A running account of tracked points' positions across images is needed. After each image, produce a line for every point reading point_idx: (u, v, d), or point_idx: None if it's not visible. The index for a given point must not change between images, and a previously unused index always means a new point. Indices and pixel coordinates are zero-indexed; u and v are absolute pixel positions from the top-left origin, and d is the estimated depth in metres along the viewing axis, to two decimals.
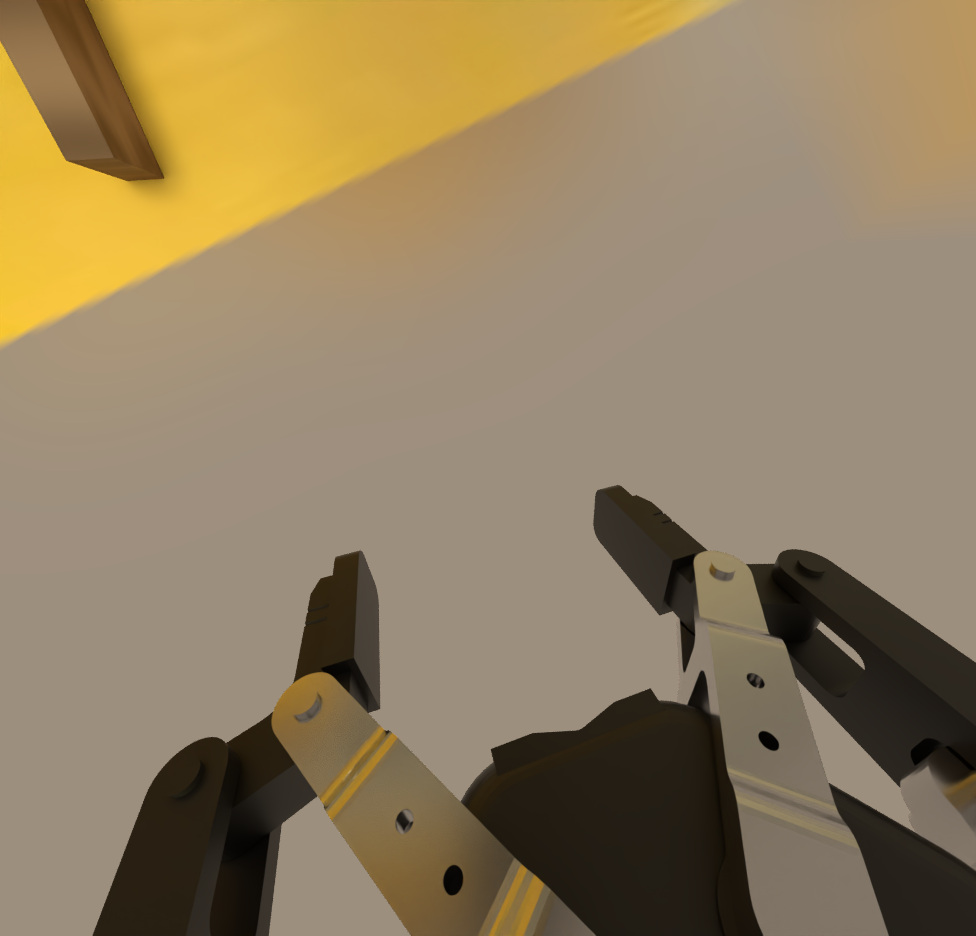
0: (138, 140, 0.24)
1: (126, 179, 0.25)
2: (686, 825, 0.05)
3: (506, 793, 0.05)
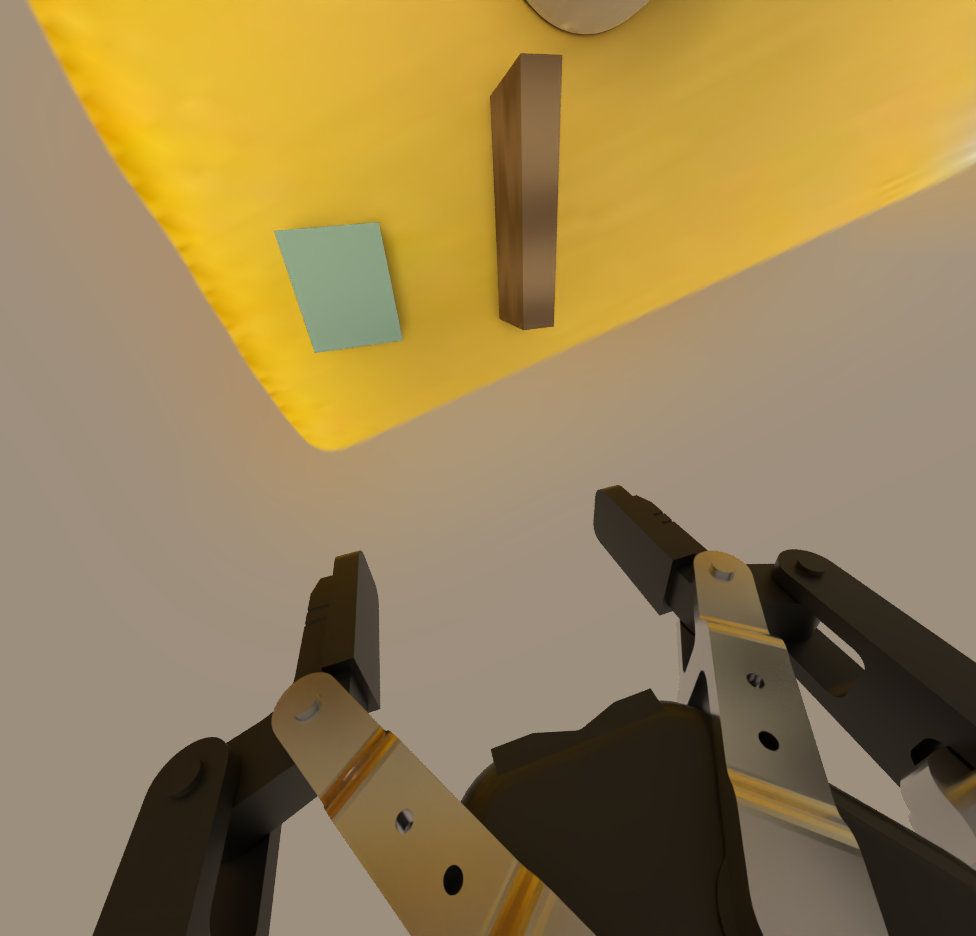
0: None
1: None
2: (686, 825, 0.05)
3: (506, 793, 0.05)
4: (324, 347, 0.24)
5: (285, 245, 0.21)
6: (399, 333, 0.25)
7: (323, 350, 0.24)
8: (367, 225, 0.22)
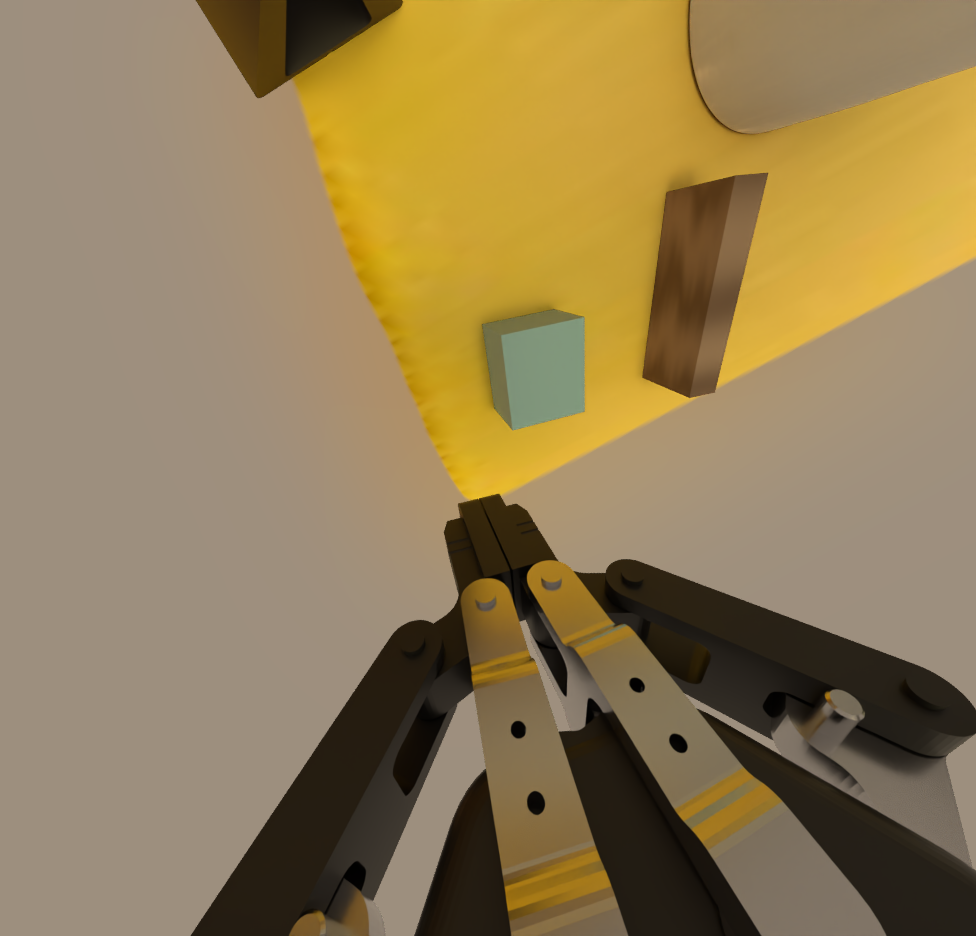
0: None
1: None
2: (677, 908, 0.04)
3: None
4: (520, 424, 0.27)
5: (507, 345, 0.24)
6: (582, 406, 0.28)
7: (519, 427, 0.27)
8: (574, 321, 0.24)
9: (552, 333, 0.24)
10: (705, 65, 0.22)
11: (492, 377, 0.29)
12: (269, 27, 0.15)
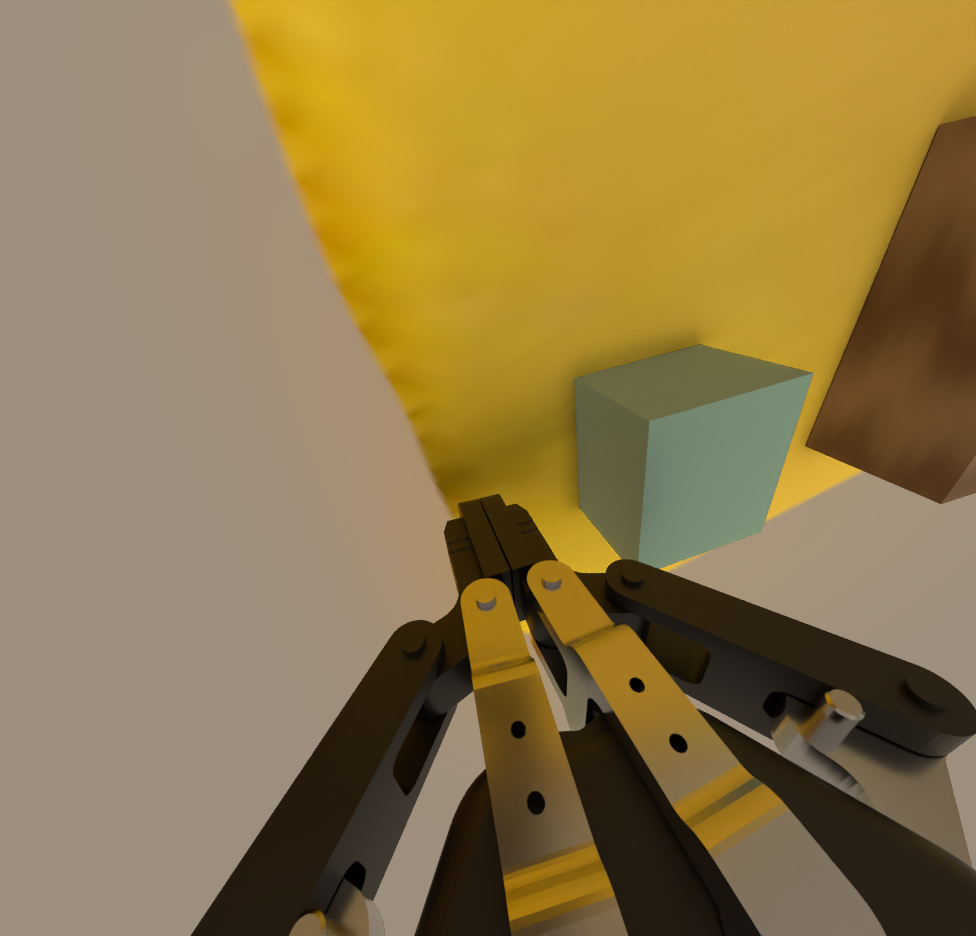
0: None
1: None
2: (677, 907, 0.04)
3: None
4: (652, 566, 0.14)
5: (658, 440, 0.11)
6: (761, 524, 0.15)
7: None
8: (794, 381, 0.12)
9: (747, 408, 0.12)
10: None
11: (586, 467, 0.16)
12: None
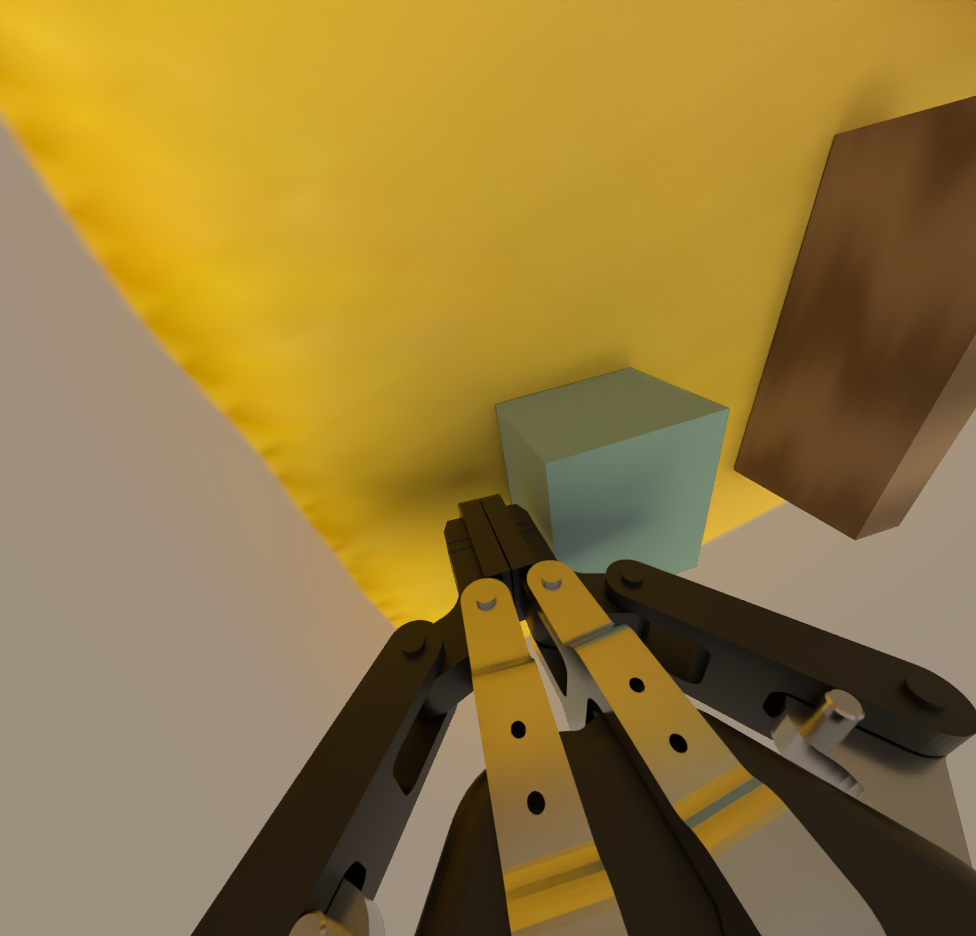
0: None
1: None
2: (677, 908, 0.04)
3: None
4: None
5: (559, 482, 0.10)
6: (695, 559, 0.14)
7: None
8: (708, 417, 0.11)
9: (658, 446, 0.11)
10: None
11: (516, 497, 0.15)
12: None
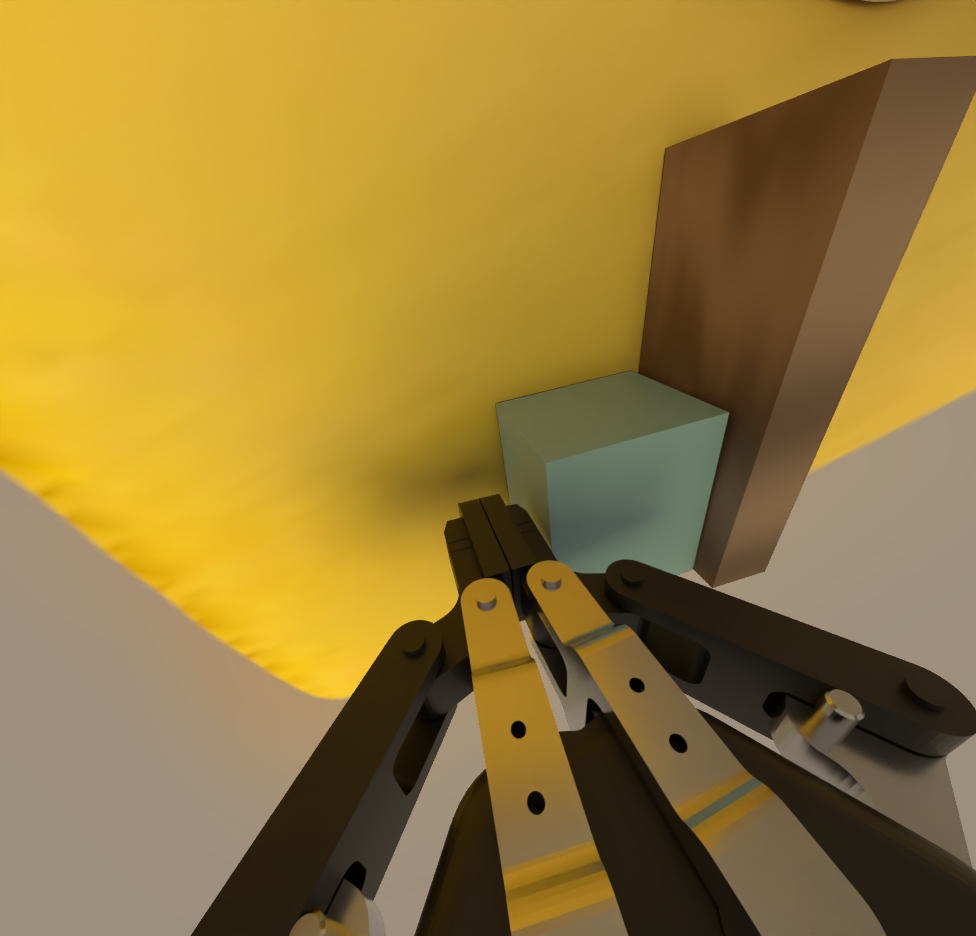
0: None
1: None
2: (677, 908, 0.04)
3: None
4: None
5: (559, 482, 0.10)
6: (691, 562, 0.14)
7: None
8: (708, 421, 0.11)
9: (657, 449, 0.11)
10: None
11: (514, 497, 0.15)
12: None
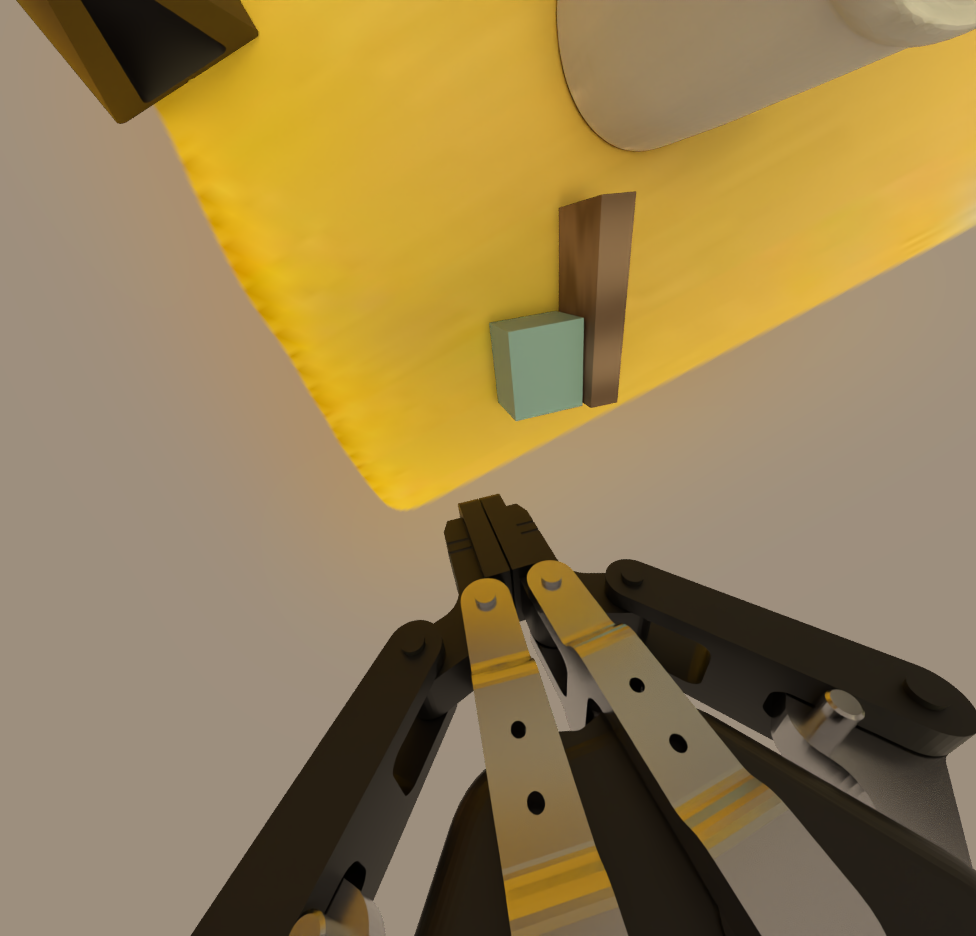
0: None
1: None
2: (677, 907, 0.04)
3: None
4: (523, 416, 0.29)
5: (513, 342, 0.26)
6: (581, 400, 0.30)
7: (522, 418, 0.29)
8: (575, 321, 0.27)
9: (554, 331, 0.27)
10: (577, 87, 0.23)
11: (497, 372, 0.31)
12: (95, 61, 0.15)
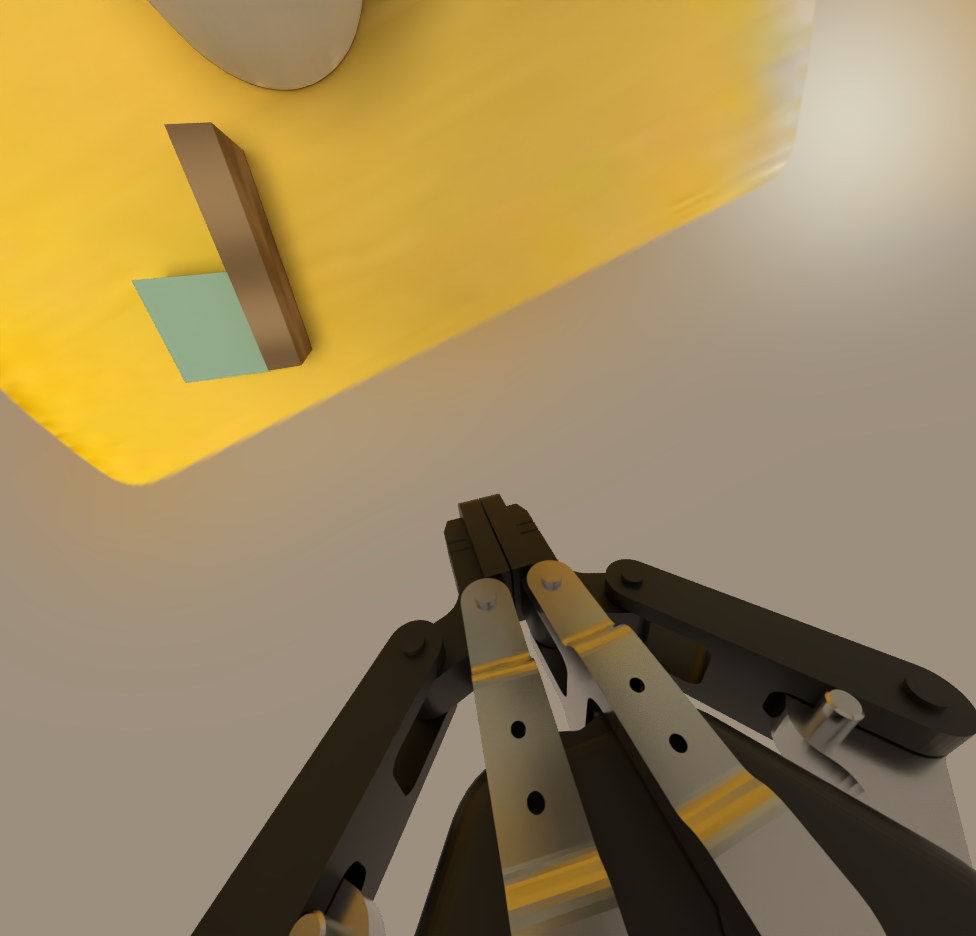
0: (302, 332, 0.31)
1: None
2: (677, 908, 0.04)
3: None
4: (194, 378, 0.27)
5: (144, 292, 0.24)
6: (265, 365, 0.28)
7: (193, 380, 0.27)
8: (220, 274, 0.25)
9: (196, 284, 0.25)
10: None
11: None
12: None
